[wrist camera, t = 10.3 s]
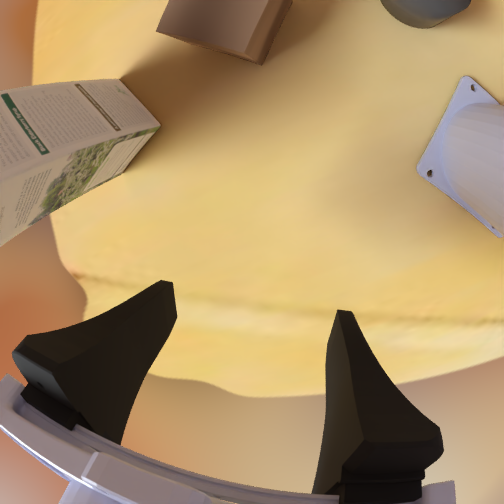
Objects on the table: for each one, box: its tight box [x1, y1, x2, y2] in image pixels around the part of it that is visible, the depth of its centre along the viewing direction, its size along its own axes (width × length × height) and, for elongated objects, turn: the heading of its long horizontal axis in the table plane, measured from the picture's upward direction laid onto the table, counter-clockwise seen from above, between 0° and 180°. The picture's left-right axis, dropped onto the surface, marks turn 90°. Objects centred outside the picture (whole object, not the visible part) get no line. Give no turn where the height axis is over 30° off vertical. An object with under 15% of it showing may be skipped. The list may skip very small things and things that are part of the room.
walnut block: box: [156, 0, 292, 65], centre depth 12 cm, size 5×5×5 cm
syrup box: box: [0, 79, 161, 247], centre depth 13 cm, size 6×6×14 cm
